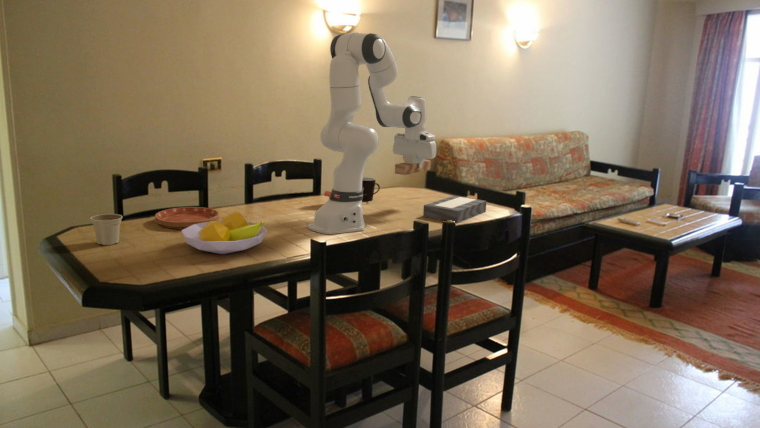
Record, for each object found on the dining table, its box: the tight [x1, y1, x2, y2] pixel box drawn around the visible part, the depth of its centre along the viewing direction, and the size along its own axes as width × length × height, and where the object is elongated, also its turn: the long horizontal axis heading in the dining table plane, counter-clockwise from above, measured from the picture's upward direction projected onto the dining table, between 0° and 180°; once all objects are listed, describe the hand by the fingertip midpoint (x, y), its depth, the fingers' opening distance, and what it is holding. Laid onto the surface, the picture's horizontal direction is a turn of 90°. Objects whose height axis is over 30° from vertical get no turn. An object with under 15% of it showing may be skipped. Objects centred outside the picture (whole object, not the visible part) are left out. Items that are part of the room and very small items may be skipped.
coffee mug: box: [362, 176, 381, 202], centre depth 265 cm, size 12×9×10 cm
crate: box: [404, 153, 418, 164], centre depth 244 cm, size 4×4×4 cm
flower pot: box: [89, 213, 123, 246], centre depth 183 cm, size 9×9×9 cm
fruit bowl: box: [180, 210, 268, 255], centre depth 182 cm, size 28×27×11 cm
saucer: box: [154, 206, 220, 230], centre depth 213 cm, size 23×23×4 cm
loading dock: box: [422, 195, 487, 224], centre depth 245 cm, size 28×16×5 cm, turn 146°
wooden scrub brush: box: [394, 159, 432, 176], centre depth 247 cm, size 22×5×4 cm, turn 146°
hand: (413, 166), depth 247 cm, fingers closed on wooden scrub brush, 5 cm apart
